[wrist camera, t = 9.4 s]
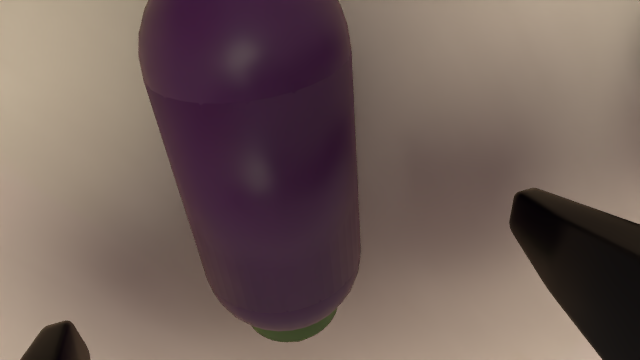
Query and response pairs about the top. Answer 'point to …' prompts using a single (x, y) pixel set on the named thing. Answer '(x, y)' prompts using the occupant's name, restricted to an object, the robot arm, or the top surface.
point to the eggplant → (261, 150)
